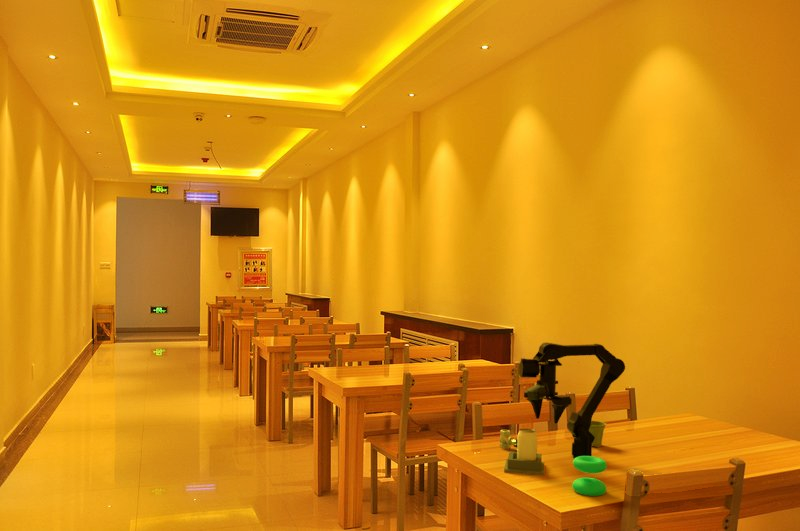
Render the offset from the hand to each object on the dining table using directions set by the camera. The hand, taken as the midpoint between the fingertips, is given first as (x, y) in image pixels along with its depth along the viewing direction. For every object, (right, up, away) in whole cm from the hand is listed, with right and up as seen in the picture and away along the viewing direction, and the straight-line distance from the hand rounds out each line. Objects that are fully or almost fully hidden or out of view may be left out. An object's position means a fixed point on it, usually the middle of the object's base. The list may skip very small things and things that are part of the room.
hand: (546, 420), depth 251 cm
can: (-10, -12, -17) cm, 23 cm away
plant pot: (+22, -14, +20) cm, 33 cm away
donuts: (+4, -13, -40) cm, 42 cm away
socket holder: (-11, -13, -16) cm, 23 cm away
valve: (-11, -13, +8) cm, 19 cm away
